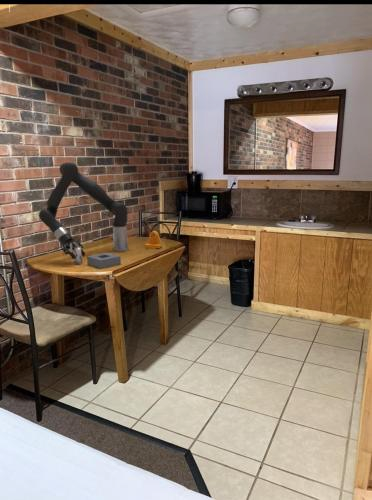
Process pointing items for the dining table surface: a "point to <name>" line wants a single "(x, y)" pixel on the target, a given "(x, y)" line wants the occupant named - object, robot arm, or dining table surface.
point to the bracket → (154, 241)
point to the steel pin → (78, 255)
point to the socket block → (103, 260)
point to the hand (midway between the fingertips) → (79, 256)
